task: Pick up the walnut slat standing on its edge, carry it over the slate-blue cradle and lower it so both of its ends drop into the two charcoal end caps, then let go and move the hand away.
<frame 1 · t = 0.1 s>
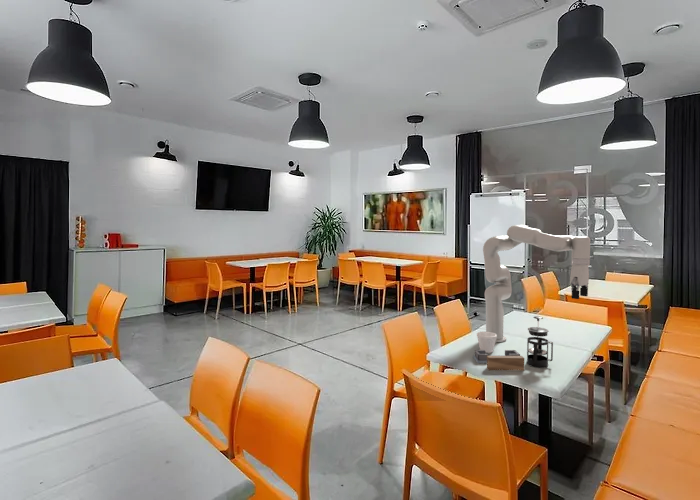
hand: (579, 297, 186), 31 cm above the table, tool pointing down, fingers open, 9 cm apart
slat: (505, 369, 179), on the table
cradle: (496, 360, 191), on the table
cup: (486, 351, 204), on the table
french press: (538, 364, 184), on the table
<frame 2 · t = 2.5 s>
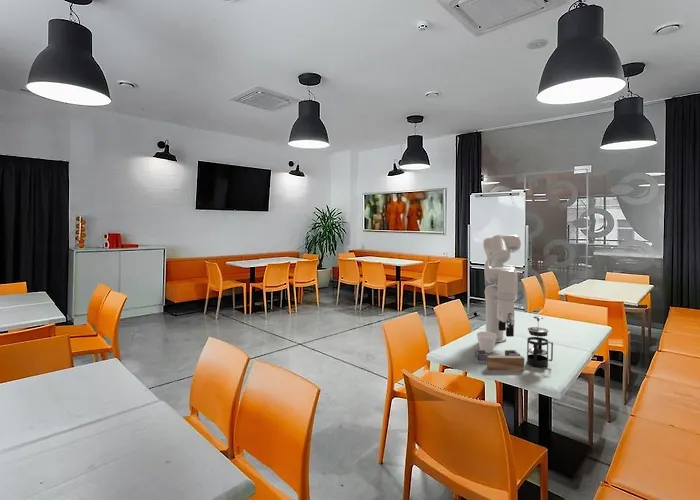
hand: (505, 333, 178), 17 cm above the table, tool pointing down, fingers open, 9 cm apart
nothing on the table moved.
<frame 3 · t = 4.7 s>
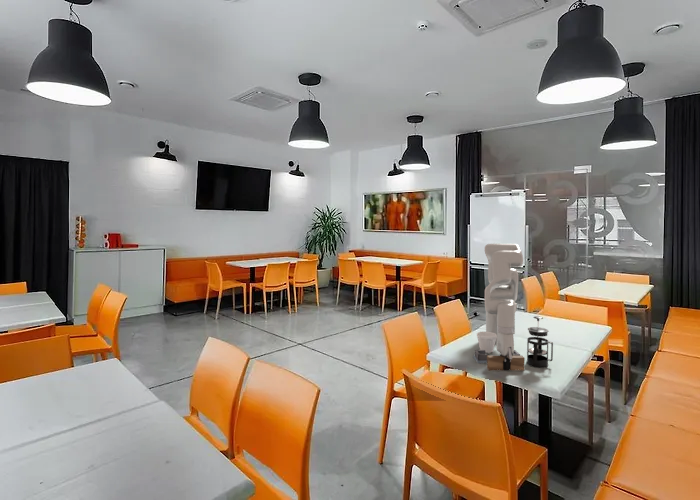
hand: (505, 368, 179), 1 cm above the table, tool pointing down, fingers closed on slat, 2 cm apart
slat: (505, 369, 179), on the table, touching gripper
everything else where it was.
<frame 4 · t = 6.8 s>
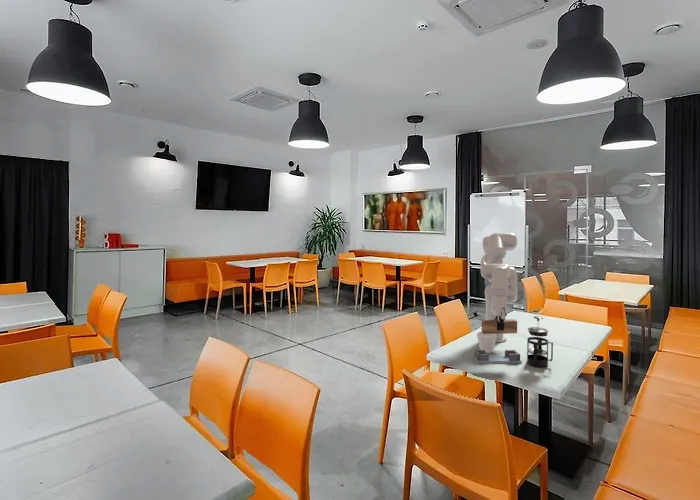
hand: (499, 328, 187), 16 cm above the table, tool pointing down, fingers closed on slat, 2 cm apart
slat: (499, 332, 187), point 15 cm above the table, touching gripper
everything else where it was.
when the fingers open (3 cm above the table, at t = 9.2 s): slat stays where it is, resting on cradle.
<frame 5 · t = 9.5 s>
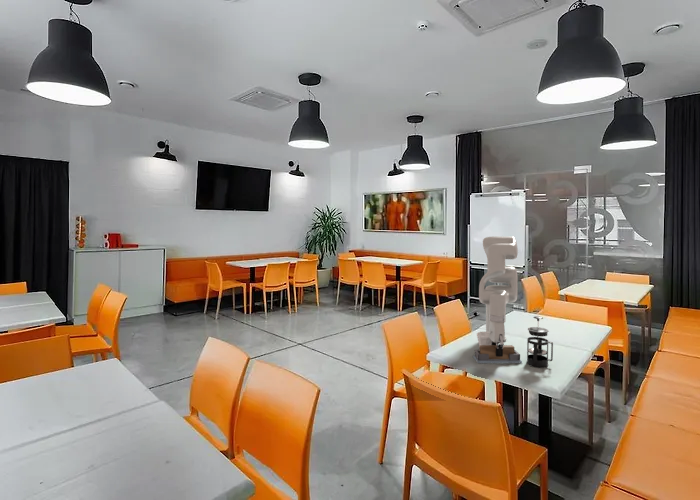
hand: (496, 353, 190), 3 cm above the table, tool pointing down, fingers open, 5 cm apart
slat: (496, 358, 191), point 1 cm above the table, touching cradle
everything else where it was.
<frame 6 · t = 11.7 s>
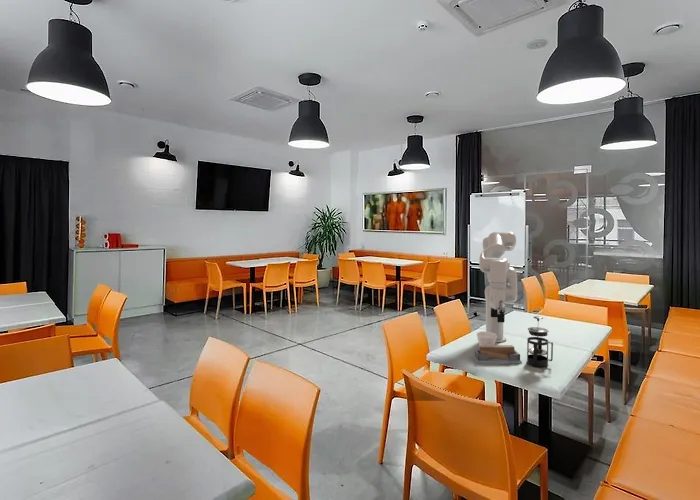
hand: (497, 319, 190), 20 cm above the table, tool pointing down, fingers open, 9 cm apart
nothing on the table moved.
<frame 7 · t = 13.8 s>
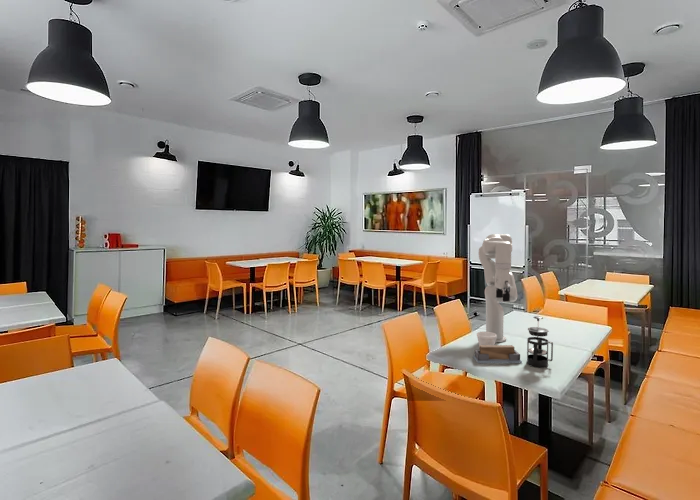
hand: (502, 299, 198), 28 cm above the table, tool pointing down, fingers open, 9 cm apart
nothing on the table moved.
at the end: slat 0.1 cm off-centre on the cradle, point 1.0 cm above the cradle's base; slat tilted 0°; the gripper is holding nothing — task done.
